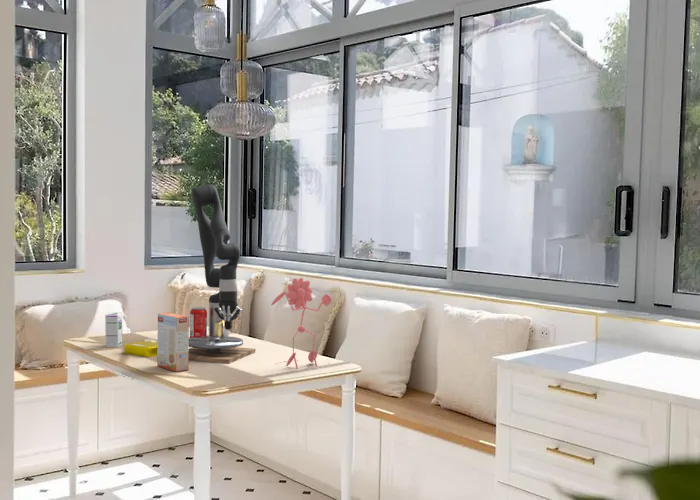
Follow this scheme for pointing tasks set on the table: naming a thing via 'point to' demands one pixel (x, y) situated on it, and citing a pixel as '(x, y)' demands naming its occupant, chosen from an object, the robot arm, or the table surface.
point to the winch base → (219, 354)
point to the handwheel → (216, 339)
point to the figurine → (299, 297)
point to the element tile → (142, 348)
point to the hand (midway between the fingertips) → (228, 329)
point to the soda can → (198, 322)
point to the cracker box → (173, 341)
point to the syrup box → (113, 329)
